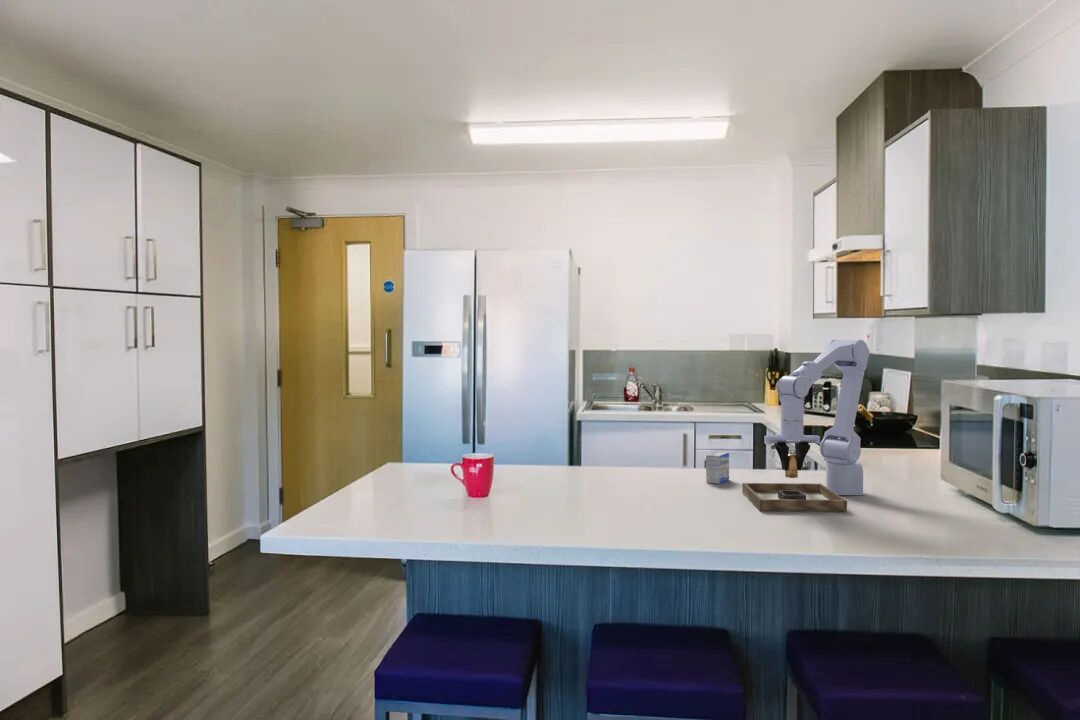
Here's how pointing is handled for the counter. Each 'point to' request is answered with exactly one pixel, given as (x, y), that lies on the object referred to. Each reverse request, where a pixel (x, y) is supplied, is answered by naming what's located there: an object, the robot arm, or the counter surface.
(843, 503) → the walled box
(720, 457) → the medicine box
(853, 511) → the counter surface
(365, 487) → the counter surface
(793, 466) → the bronze metal cylinder
